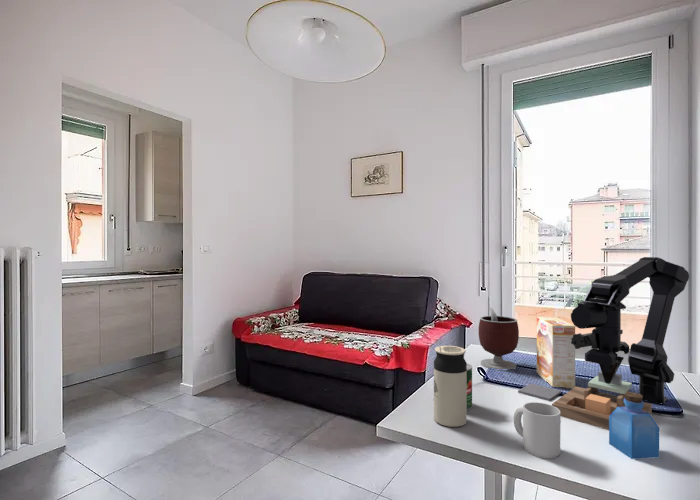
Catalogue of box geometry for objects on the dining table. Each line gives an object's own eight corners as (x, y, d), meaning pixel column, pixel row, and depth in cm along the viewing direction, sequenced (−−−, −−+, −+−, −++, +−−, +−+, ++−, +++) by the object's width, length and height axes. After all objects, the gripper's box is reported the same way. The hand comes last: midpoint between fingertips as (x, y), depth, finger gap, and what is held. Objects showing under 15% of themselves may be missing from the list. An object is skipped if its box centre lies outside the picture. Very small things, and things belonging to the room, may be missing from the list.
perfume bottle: (609, 443, 87) (609, 390, 87) (635, 442, 88) (635, 389, 88) (631, 458, 81) (631, 400, 81) (659, 457, 82) (659, 399, 82)
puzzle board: (575, 394, 116) (575, 377, 116) (651, 413, 103) (651, 394, 103) (551, 413, 103) (551, 394, 103) (635, 437, 90) (635, 415, 90)
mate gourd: (525, 371, 139) (525, 314, 138) (485, 371, 139) (485, 314, 139) (508, 358, 154) (508, 307, 154) (472, 358, 154) (472, 307, 154)
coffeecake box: (535, 372, 137) (535, 316, 137) (557, 373, 136) (557, 317, 136) (551, 387, 122) (551, 325, 122) (576, 389, 121) (576, 325, 121)
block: (590, 412, 104) (590, 393, 104) (610, 418, 101) (610, 398, 101) (585, 417, 101) (585, 398, 101) (605, 423, 98) (605, 403, 98)
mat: (530, 385, 124) (530, 383, 124) (561, 392, 118) (561, 390, 118) (518, 392, 118) (518, 390, 118) (549, 401, 112) (549, 398, 112)
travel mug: (467, 416, 102) (467, 346, 101) (465, 430, 94) (465, 354, 94) (435, 412, 104) (435, 344, 104) (431, 425, 97) (431, 351, 96)
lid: (596, 378, 114) (597, 366, 114) (631, 386, 108) (632, 373, 108) (587, 386, 109) (588, 373, 109) (624, 394, 103) (624, 380, 103)
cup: (548, 463, 80) (549, 419, 80) (504, 442, 88) (504, 402, 88) (566, 452, 84) (567, 410, 84) (523, 434, 92) (523, 395, 92)
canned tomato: (452, 397, 114) (452, 359, 114) (477, 405, 109) (477, 365, 109) (437, 405, 109) (437, 365, 109) (462, 413, 103) (462, 371, 103)
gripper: (585, 317, 119) (585, 369, 119) (563, 326, 106) (563, 384, 106) (629, 322, 111) (629, 378, 111) (612, 332, 98) (611, 395, 98)
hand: (607, 383), depth 107 cm, fingers closed
